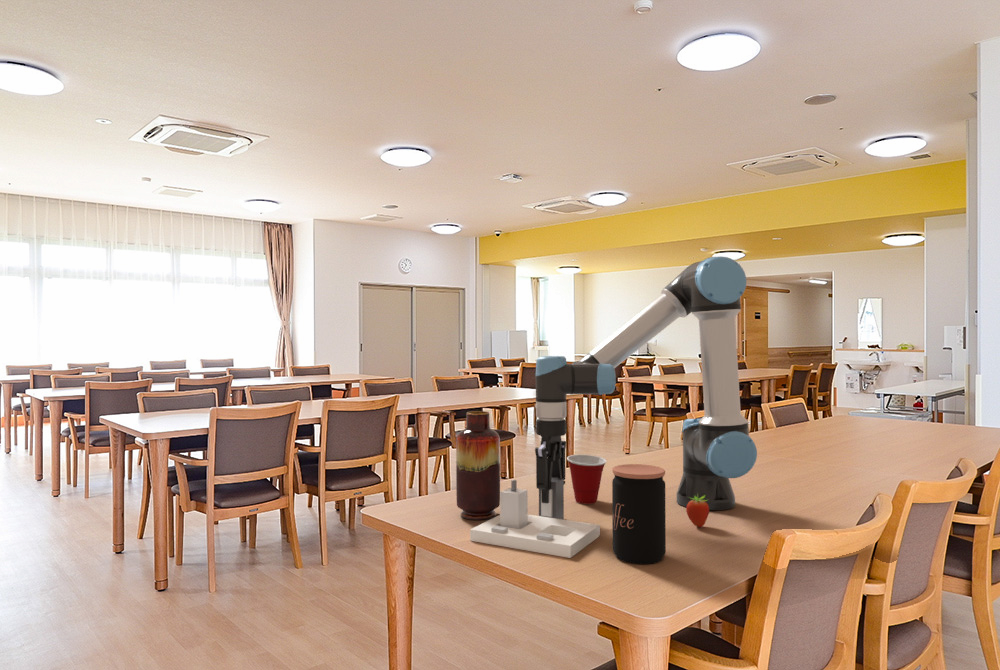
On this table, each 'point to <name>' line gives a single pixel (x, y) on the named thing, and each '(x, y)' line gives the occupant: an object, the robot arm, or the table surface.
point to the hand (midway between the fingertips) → (551, 513)
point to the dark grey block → (556, 498)
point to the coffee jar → (638, 513)
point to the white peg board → (533, 528)
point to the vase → (478, 468)
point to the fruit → (697, 511)
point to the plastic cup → (586, 477)
